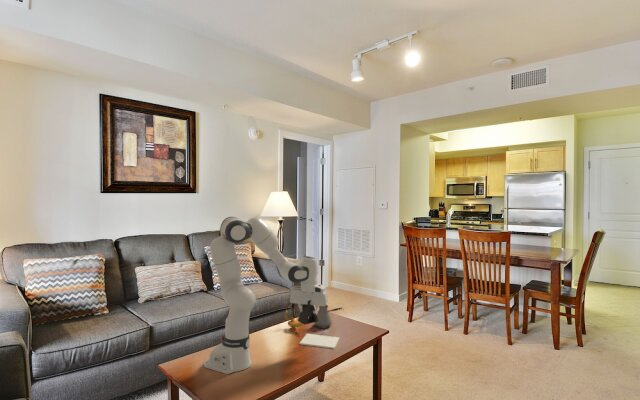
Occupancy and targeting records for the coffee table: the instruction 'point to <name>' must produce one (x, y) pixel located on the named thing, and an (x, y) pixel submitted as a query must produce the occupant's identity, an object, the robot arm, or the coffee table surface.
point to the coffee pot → (324, 317)
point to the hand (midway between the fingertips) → (308, 312)
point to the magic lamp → (293, 323)
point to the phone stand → (307, 314)
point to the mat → (320, 341)
